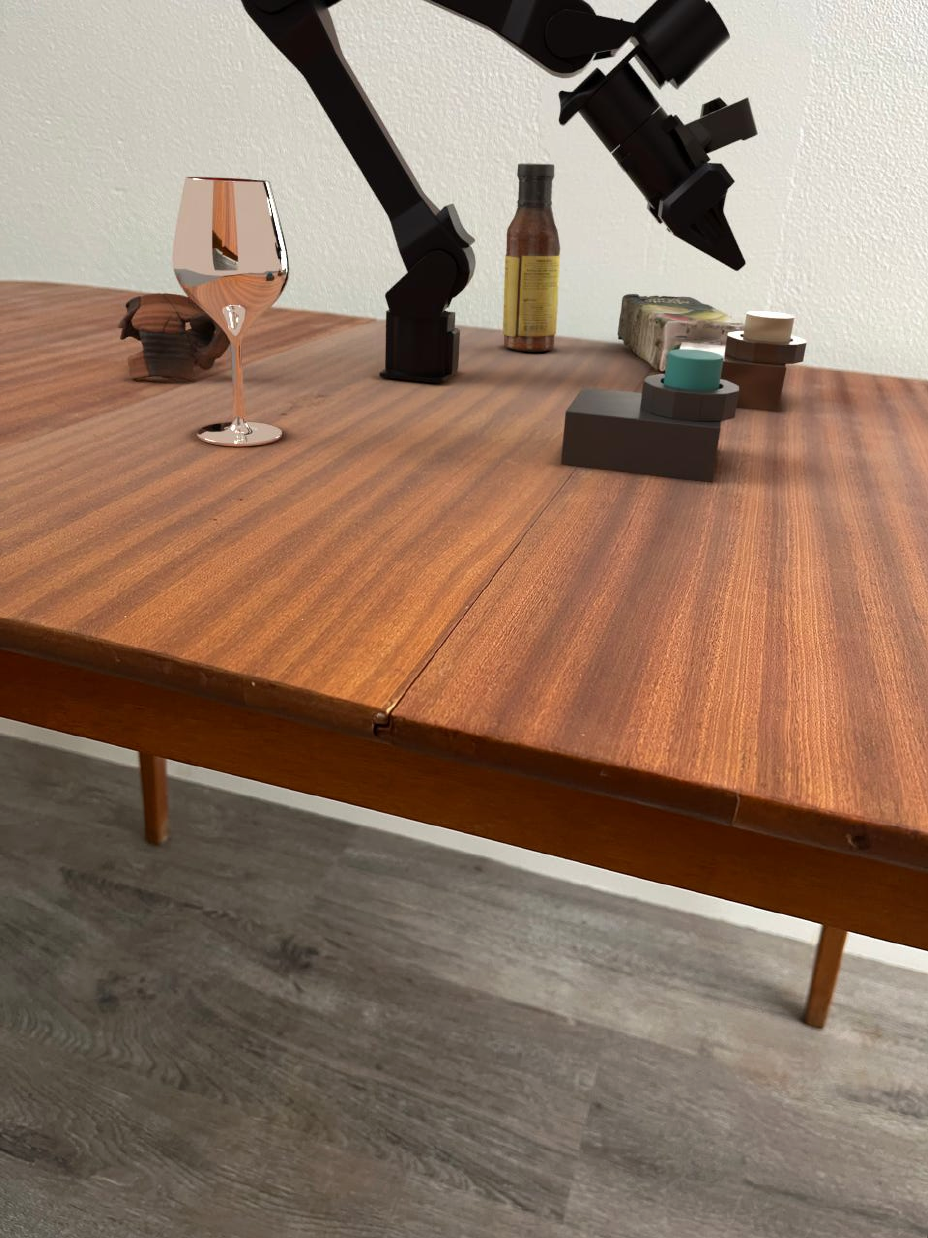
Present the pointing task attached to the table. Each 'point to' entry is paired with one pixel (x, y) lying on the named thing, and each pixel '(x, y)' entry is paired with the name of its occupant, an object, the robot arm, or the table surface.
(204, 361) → the pottery mug
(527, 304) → the sauce bottle
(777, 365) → the base
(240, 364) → the wineglass
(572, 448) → the dark brown block
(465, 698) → the table surface
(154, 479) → the table surface
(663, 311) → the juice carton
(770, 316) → the bell button
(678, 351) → the teal button
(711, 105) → the robot arm
